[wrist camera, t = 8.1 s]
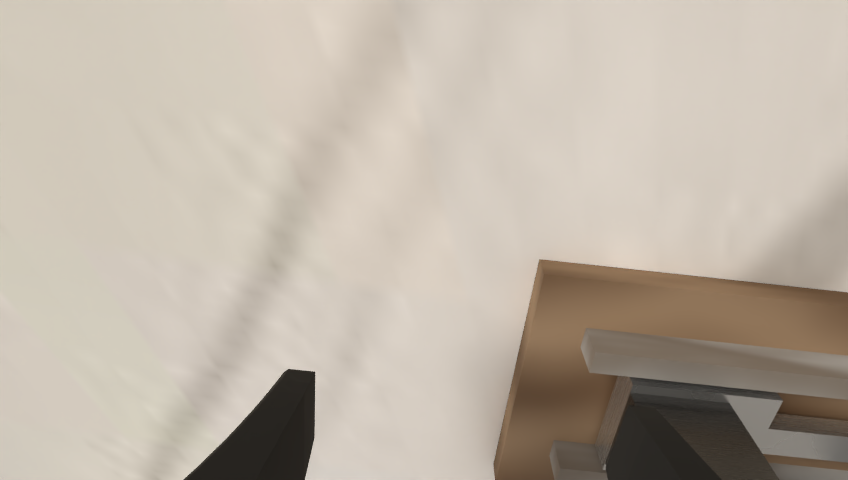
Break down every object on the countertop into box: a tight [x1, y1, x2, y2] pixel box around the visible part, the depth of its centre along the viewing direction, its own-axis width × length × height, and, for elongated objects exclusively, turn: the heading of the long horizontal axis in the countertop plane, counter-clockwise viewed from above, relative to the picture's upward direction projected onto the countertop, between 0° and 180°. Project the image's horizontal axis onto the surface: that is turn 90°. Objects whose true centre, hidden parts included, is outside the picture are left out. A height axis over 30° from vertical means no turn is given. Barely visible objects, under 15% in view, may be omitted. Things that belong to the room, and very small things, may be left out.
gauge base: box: [494, 259, 848, 480], centre depth 22 cm, size 12×19×6 cm, turn 84°
